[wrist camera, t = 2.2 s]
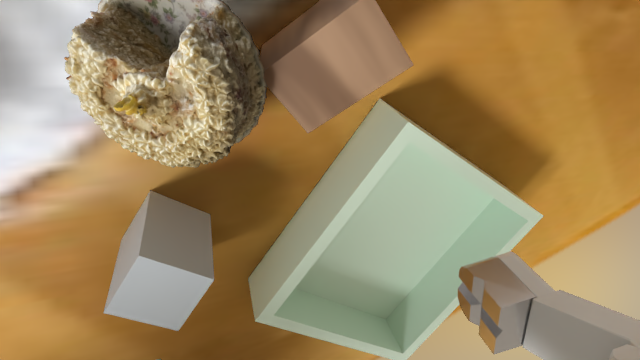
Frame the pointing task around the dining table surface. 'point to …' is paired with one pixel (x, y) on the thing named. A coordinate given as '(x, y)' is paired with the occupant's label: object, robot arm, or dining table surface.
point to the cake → (168, 77)
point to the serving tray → (385, 240)
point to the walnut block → (331, 59)
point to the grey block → (162, 264)
